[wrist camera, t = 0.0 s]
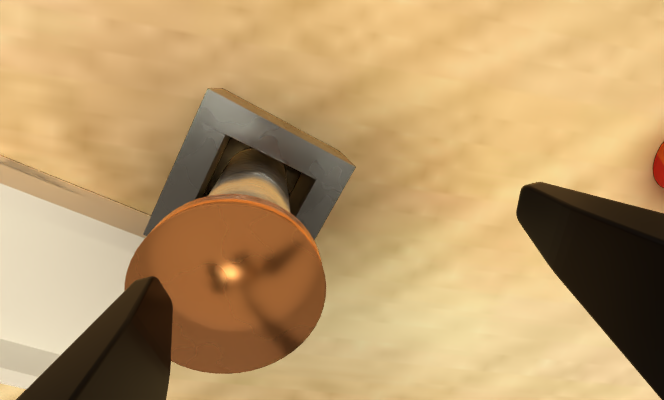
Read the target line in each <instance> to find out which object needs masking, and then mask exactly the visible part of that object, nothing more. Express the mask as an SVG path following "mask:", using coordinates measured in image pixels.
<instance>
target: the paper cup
mask: <svg viewBox="0 0 664 400" xmlns="http://www.w3.org/2000/svg"><path fill="white" fill-rule="evenodd" d="M653 174H654V178H655V180H656V182H657V183H658V184H659V185H660V186H661V187H663V188H664V142H663V144H662V145H661V147H660V148H659V150H658V152H657V154H656V157H655V160H654V165H653Z"/></svg>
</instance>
